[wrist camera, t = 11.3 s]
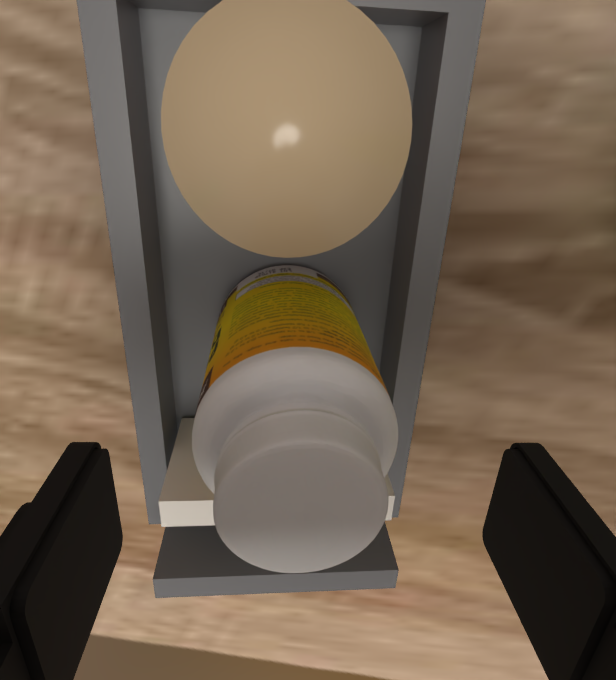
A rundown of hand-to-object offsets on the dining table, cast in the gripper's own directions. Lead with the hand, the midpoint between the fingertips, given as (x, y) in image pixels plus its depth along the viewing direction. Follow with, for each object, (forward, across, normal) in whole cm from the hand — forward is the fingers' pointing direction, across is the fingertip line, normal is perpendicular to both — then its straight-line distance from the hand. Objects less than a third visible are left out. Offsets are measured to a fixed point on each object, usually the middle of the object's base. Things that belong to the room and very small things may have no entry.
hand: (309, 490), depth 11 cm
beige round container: (+9, +1, -8) cm, 12 cm away
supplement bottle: (+10, 0, 0) cm, 10 cm away
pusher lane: (+10, +1, -2) cm, 11 cm away
